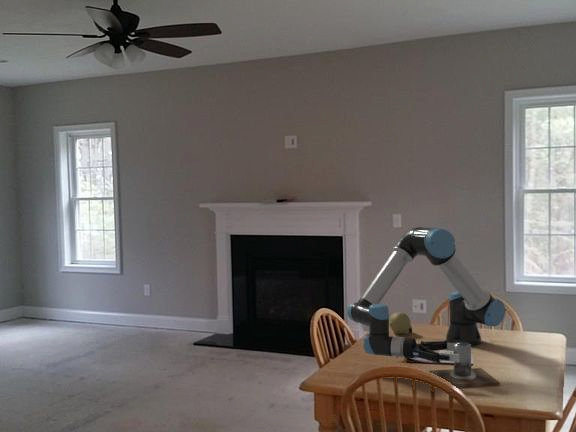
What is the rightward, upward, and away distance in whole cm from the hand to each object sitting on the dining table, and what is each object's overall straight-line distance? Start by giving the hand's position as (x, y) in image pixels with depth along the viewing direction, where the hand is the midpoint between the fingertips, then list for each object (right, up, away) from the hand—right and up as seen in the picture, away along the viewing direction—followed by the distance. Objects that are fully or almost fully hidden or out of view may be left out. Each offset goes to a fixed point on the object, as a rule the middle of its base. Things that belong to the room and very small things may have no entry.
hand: (462, 353), depth 200 cm
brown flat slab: (0, -10, 0) cm, 10 cm away
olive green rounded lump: (-9, -8, +68) cm, 69 cm away
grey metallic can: (0, -8, 0) cm, 8 cm away
